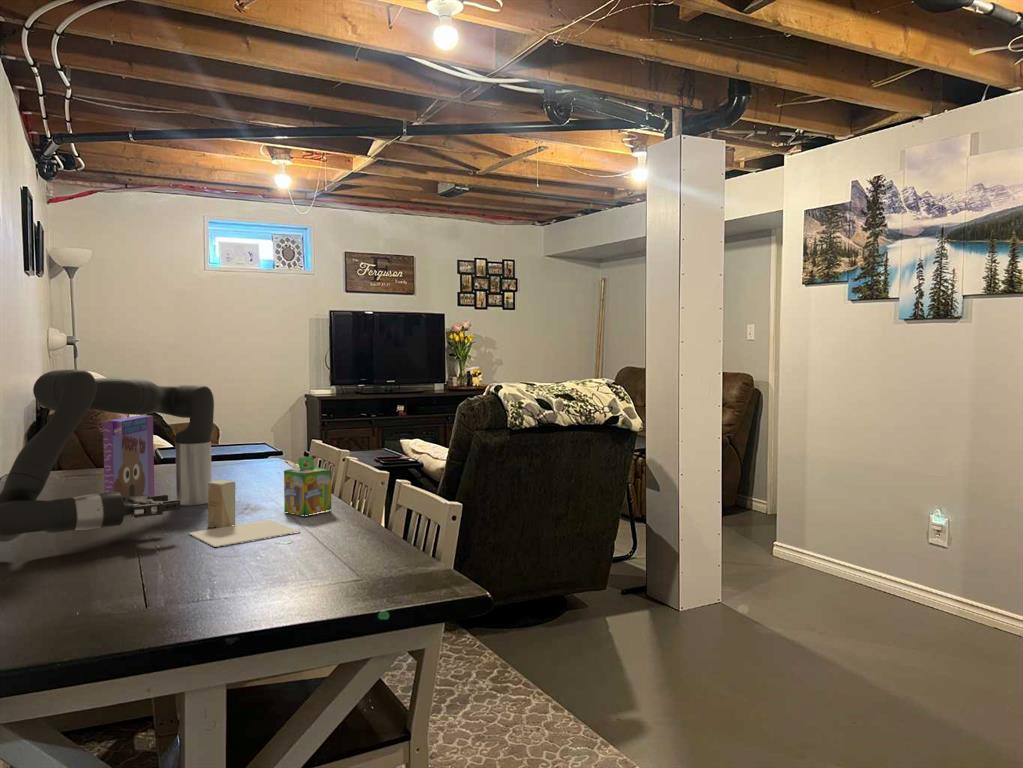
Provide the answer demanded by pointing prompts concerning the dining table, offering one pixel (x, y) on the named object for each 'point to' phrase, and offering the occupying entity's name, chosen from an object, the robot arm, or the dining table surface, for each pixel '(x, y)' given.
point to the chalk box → (307, 489)
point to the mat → (242, 533)
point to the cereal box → (129, 456)
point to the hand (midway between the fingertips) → (173, 501)
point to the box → (221, 503)
